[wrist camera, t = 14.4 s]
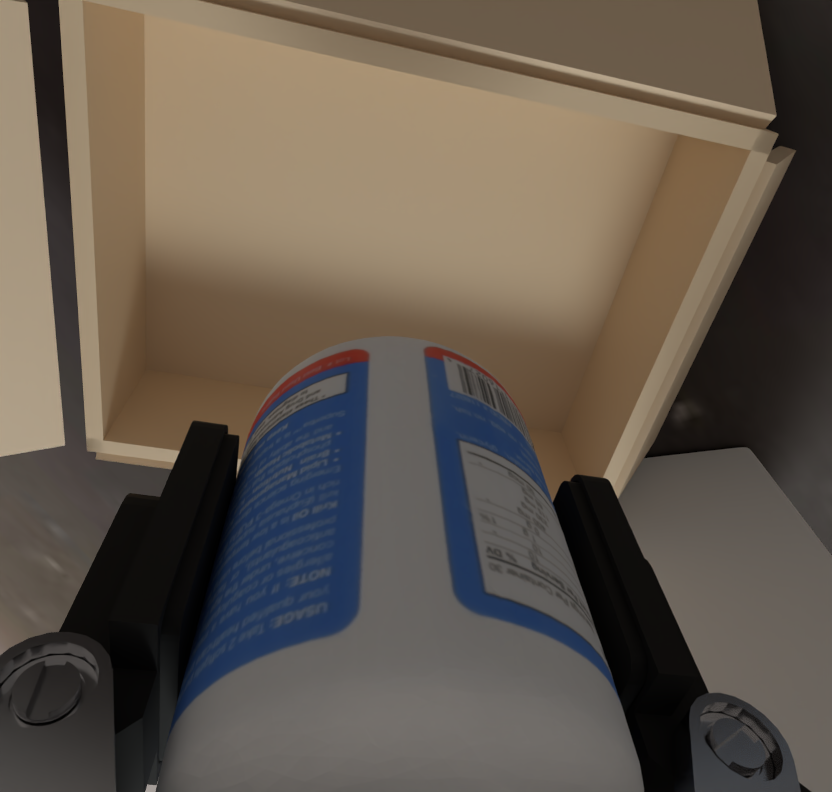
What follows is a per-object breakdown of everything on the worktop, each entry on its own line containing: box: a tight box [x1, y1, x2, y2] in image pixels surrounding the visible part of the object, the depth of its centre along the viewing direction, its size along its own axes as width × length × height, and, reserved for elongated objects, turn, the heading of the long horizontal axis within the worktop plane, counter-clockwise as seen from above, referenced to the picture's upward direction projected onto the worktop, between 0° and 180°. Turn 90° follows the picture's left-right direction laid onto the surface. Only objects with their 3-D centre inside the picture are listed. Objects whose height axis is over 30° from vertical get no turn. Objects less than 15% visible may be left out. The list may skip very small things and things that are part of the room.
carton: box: [59, 0, 796, 502], centre depth 21 cm, size 20×20×5 cm
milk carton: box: [618, 447, 832, 792], centre depth 22 cm, size 7×7×19 cm
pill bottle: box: [156, 336, 644, 792], centre depth 9 cm, size 6×5×10 cm
